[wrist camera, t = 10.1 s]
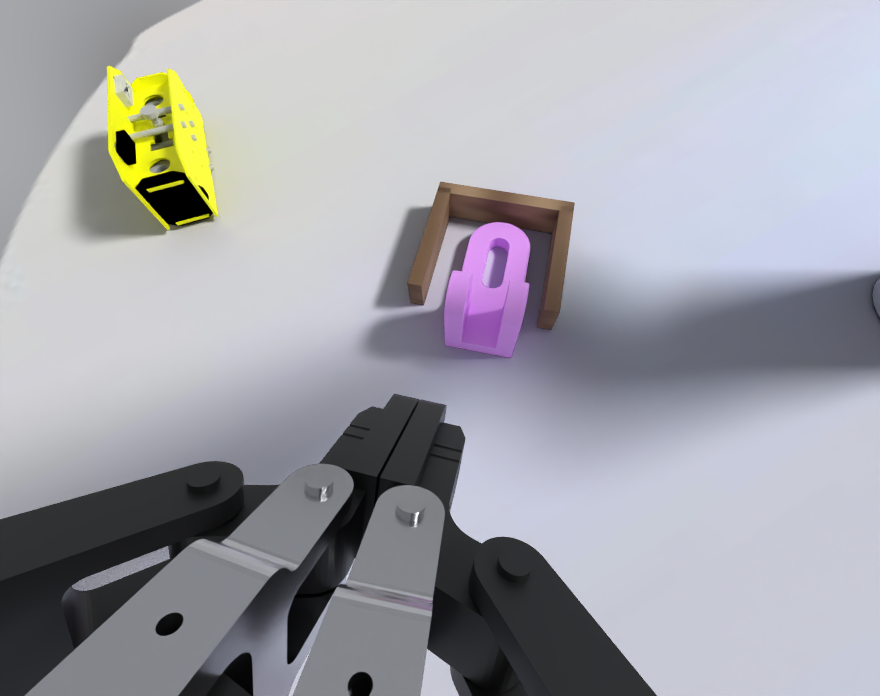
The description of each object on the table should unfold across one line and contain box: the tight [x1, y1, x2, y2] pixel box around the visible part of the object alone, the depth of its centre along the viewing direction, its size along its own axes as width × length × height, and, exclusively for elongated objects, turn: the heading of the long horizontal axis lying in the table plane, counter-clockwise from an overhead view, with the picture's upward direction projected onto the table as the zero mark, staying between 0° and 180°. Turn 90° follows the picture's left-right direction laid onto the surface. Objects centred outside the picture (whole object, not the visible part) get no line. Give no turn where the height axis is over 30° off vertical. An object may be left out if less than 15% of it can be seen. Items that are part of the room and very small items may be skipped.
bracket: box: [444, 222, 530, 358], centre depth 34 cm, size 13×6×7 cm, turn 167°
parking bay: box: [407, 182, 574, 330], centre depth 36 cm, size 12×12×3 cm
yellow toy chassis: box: [107, 66, 218, 230], centre depth 40 cm, size 16×6×8 cm, turn 20°
